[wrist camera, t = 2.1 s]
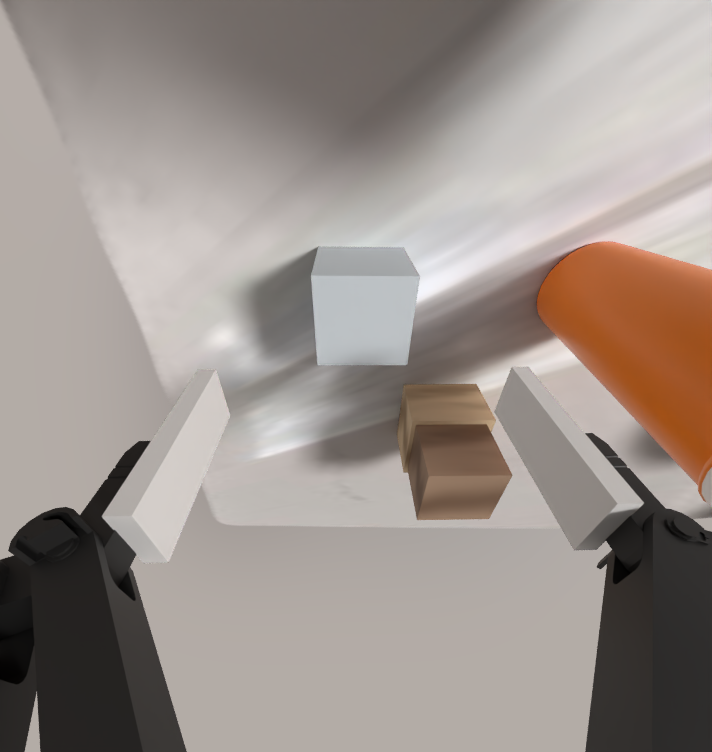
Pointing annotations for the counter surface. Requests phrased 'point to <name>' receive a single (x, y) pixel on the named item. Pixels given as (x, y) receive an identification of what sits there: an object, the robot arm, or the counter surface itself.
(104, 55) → the counter surface
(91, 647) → the robot arm
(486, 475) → the walnut block
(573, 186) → the counter surface
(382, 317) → the grey-blue cube
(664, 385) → the shaker bottle
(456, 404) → the oak block
